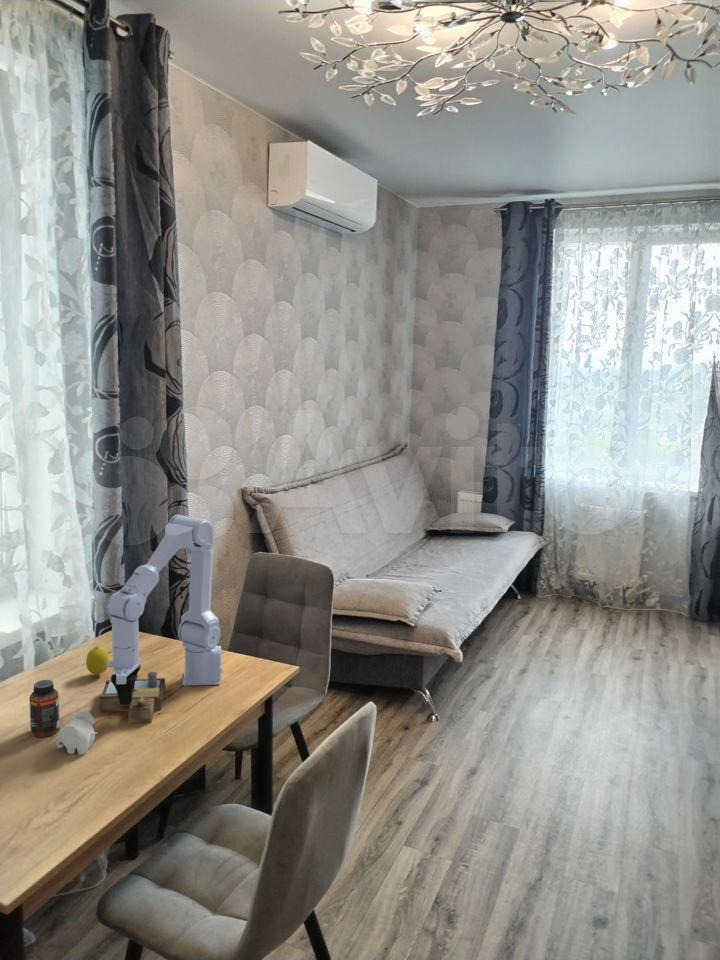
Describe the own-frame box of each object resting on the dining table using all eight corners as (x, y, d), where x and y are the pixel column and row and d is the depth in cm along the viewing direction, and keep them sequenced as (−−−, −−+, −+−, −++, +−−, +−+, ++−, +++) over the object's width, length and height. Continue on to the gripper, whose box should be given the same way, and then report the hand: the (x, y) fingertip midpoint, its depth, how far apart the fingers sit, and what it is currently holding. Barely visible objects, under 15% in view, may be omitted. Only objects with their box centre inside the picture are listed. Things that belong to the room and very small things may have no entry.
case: (165, 690, 184) (165, 677, 183) (158, 722, 168) (158, 707, 168) (107, 692, 182) (106, 678, 181) (94, 724, 166) (94, 709, 165)
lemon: (104, 680, 188) (103, 651, 187) (83, 679, 188) (82, 650, 187) (112, 671, 193) (111, 642, 192) (91, 670, 193) (90, 641, 192)
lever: (159, 702, 171) (159, 687, 170) (158, 705, 169) (158, 690, 169) (123, 703, 170) (123, 688, 169) (122, 707, 168) (122, 692, 167)
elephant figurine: (60, 738, 160) (59, 707, 159) (104, 740, 160) (103, 710, 158) (44, 757, 152) (43, 725, 151) (90, 759, 152) (89, 728, 151)
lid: (160, 682, 181) (160, 667, 181) (157, 694, 175) (157, 679, 175) (109, 684, 179) (109, 669, 179) (104, 696, 173) (104, 680, 173)
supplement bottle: (66, 728, 164) (64, 681, 162) (44, 740, 159) (42, 691, 157) (46, 722, 166) (44, 675, 164) (24, 733, 161) (22, 685, 159)
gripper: (112, 632, 173) (113, 686, 175) (101, 657, 159) (102, 715, 161) (143, 631, 174) (144, 685, 176) (135, 656, 160) (135, 714, 162)
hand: (126, 699), depth 169 cm, fingers open, 3 cm apart
